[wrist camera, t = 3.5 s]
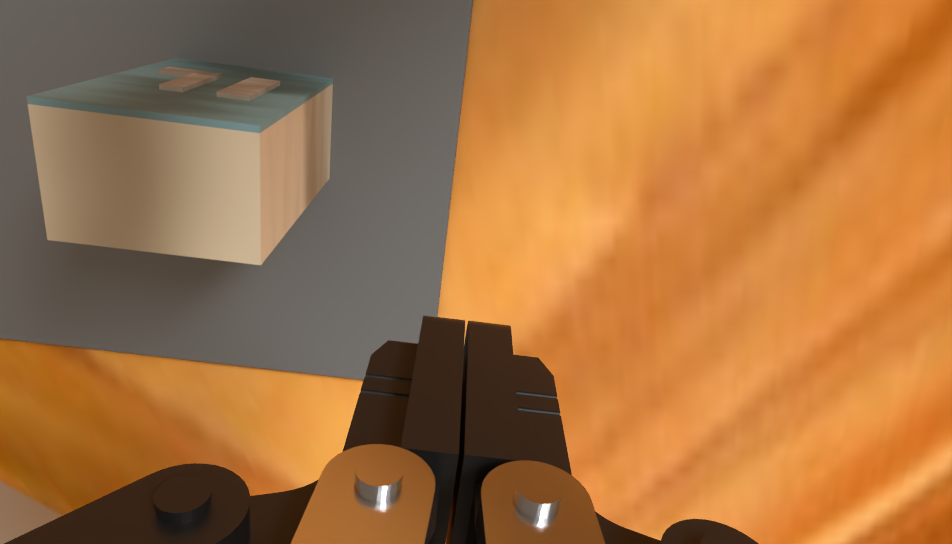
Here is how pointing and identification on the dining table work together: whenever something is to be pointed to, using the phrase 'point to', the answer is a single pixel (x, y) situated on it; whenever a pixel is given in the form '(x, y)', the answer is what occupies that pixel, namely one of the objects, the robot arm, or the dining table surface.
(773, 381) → the dining table surface
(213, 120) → the block
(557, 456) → the robot arm
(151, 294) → the mat
